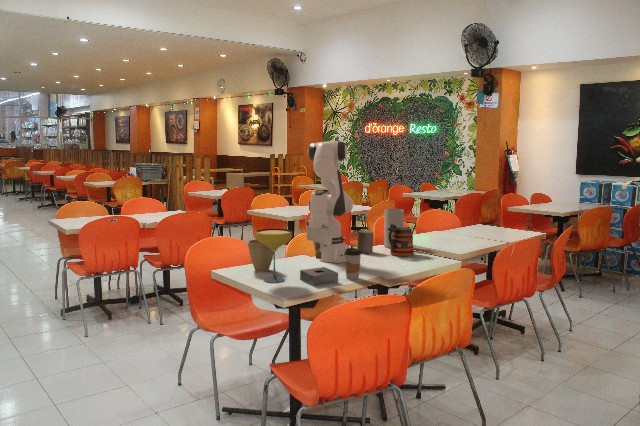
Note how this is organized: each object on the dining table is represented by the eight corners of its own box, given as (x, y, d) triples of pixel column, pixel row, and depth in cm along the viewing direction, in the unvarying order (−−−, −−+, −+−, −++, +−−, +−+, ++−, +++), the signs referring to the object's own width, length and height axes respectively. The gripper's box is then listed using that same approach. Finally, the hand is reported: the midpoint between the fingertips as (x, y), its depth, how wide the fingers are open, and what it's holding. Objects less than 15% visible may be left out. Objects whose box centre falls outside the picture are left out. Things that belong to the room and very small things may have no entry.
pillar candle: (354, 252, 336) (354, 229, 334) (362, 250, 344) (363, 227, 342) (367, 254, 330) (368, 231, 328) (375, 252, 338) (376, 229, 336)
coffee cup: (341, 278, 273) (341, 249, 271) (351, 275, 278) (352, 247, 276) (353, 281, 267) (353, 251, 265) (364, 278, 272) (364, 249, 270)
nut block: (324, 276, 276) (324, 267, 275) (338, 282, 264) (338, 272, 263) (300, 279, 269) (300, 270, 268) (313, 286, 257) (313, 276, 256)
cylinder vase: (386, 244, 363) (386, 208, 360) (404, 245, 359) (405, 209, 356) (382, 248, 351) (383, 210, 348) (401, 249, 347) (402, 211, 344)
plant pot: (246, 273, 282) (245, 243, 280) (250, 267, 296) (249, 238, 294) (274, 273, 282) (274, 244, 280) (277, 267, 296) (276, 239, 294)
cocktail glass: (280, 274, 280) (279, 227, 277) (299, 281, 266) (299, 232, 263) (249, 279, 270) (249, 230, 266) (268, 287, 255) (267, 235, 252)
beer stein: (399, 258, 318) (400, 226, 316) (380, 255, 329) (381, 223, 326) (418, 254, 331) (419, 222, 329) (399, 251, 342) (400, 220, 339)
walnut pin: (319, 257, 267) (319, 237, 265) (322, 258, 264) (322, 238, 263) (314, 258, 265) (314, 238, 264) (317, 259, 263) (317, 239, 261)
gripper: (335, 225, 255) (334, 254, 257) (314, 220, 273) (314, 247, 274) (323, 226, 252) (323, 255, 254) (304, 221, 270) (303, 248, 271)
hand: (318, 251), depth 264 cm, fingers closed on walnut pin, 3 cm apart
